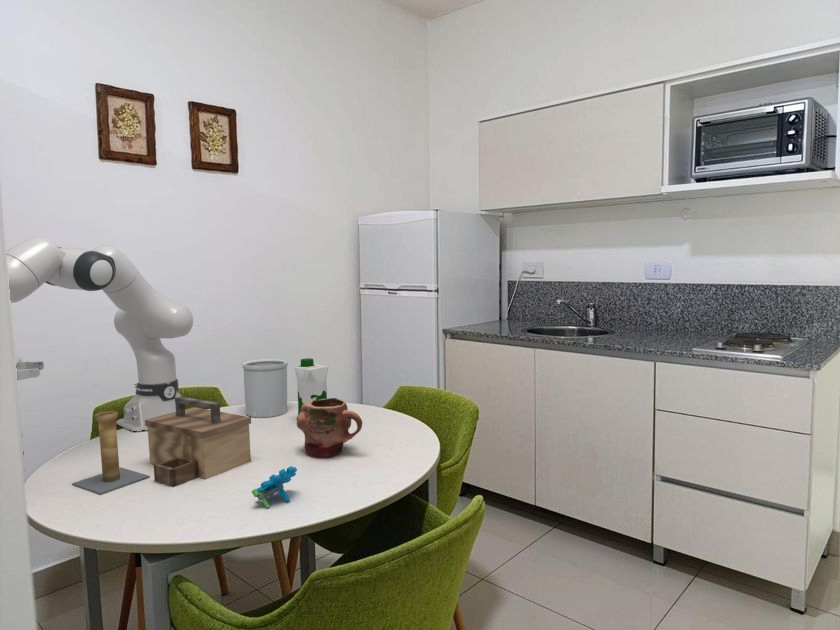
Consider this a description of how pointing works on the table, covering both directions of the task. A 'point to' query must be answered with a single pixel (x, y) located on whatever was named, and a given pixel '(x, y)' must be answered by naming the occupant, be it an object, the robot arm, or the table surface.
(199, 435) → the toolbox
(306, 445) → the pink ceramic mug
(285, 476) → the gear
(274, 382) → the utensil holder
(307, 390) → the milk carton
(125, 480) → the mat
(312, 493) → the table surface
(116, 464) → the tan cylinder
